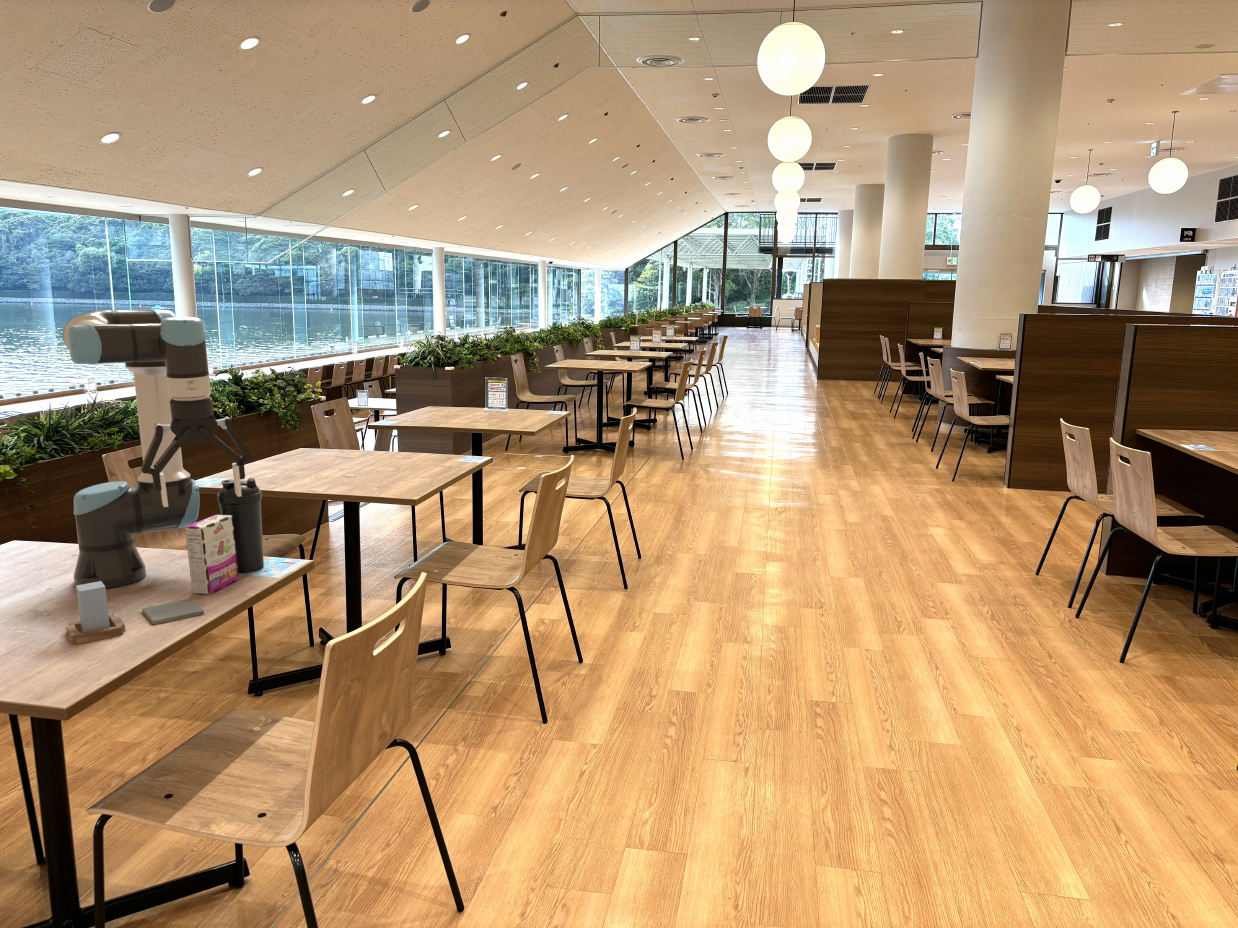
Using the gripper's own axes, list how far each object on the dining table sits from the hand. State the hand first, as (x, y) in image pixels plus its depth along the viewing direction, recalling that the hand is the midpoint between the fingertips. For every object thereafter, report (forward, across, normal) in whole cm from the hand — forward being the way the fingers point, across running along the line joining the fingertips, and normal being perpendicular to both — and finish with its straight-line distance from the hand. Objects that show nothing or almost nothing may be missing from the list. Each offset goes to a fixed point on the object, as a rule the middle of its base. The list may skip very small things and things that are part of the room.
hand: (202, 500), depth 175 cm
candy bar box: (+29, +4, +25) cm, 39 cm away
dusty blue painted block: (+27, -22, +9) cm, 36 cm away
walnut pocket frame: (+27, -22, +9) cm, 36 cm away
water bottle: (+30, +12, +36) cm, 49 cm away
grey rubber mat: (+28, -7, +12) cm, 31 cm away
